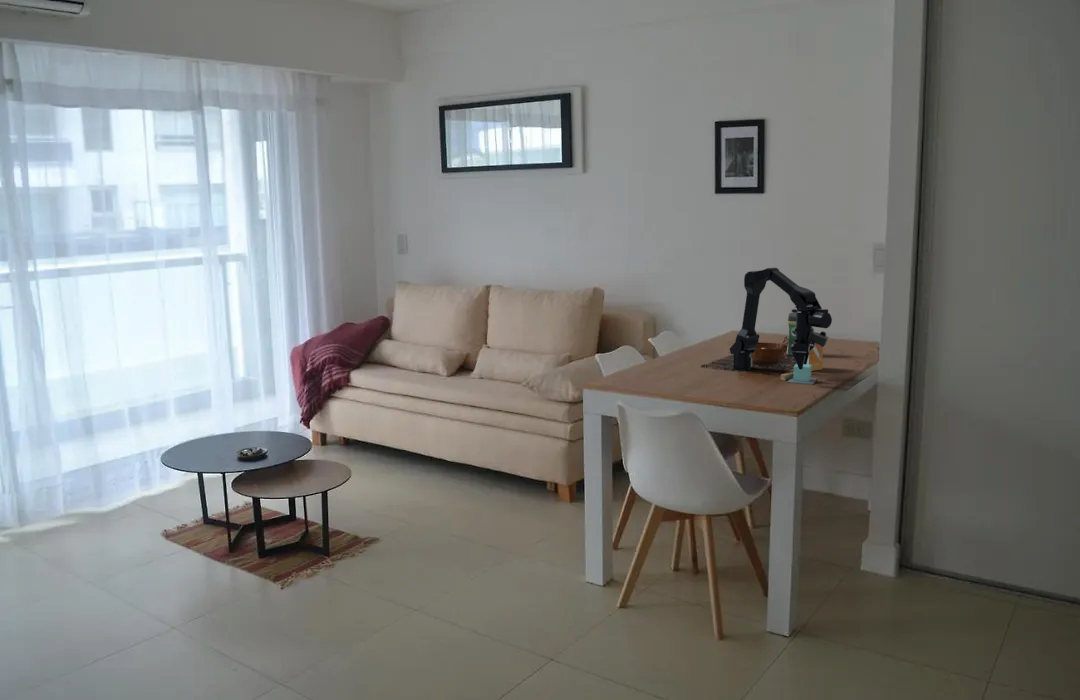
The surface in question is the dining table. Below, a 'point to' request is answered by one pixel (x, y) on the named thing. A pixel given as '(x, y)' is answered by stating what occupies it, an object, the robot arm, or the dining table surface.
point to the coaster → (802, 382)
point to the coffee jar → (791, 331)
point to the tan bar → (787, 376)
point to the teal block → (802, 373)
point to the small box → (815, 357)
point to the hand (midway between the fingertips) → (802, 367)
